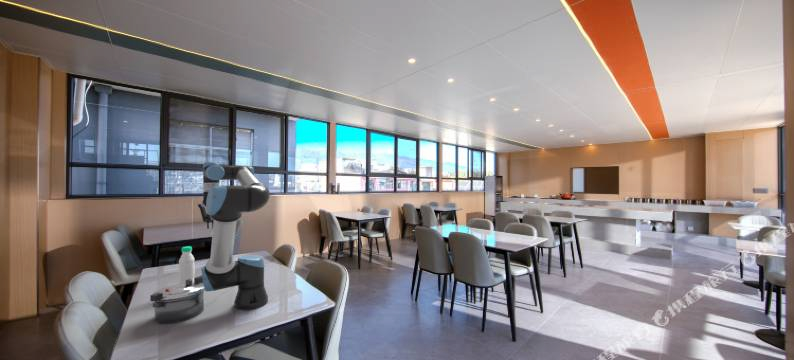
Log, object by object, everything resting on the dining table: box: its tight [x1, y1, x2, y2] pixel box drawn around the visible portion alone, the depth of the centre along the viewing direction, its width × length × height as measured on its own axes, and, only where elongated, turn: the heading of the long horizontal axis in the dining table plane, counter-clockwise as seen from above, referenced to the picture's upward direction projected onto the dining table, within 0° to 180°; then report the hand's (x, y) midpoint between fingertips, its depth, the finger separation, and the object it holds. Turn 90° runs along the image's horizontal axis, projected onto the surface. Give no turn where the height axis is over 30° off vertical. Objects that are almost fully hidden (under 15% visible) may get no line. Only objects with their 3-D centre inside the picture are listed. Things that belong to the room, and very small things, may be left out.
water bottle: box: [178, 245, 196, 284], centre depth 161 cm, size 7×7×25 cm
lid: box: [149, 274, 205, 303], centre depth 136 cm, size 28×20×4 cm
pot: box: [152, 290, 205, 325], centre depth 136 cm, size 26×19×10 cm
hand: (211, 234), depth 157 cm, fingers closed
